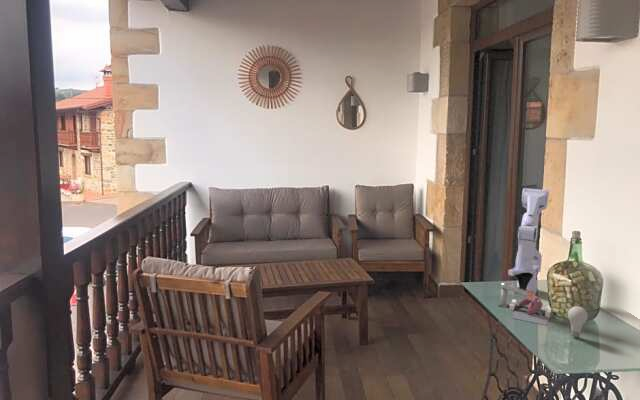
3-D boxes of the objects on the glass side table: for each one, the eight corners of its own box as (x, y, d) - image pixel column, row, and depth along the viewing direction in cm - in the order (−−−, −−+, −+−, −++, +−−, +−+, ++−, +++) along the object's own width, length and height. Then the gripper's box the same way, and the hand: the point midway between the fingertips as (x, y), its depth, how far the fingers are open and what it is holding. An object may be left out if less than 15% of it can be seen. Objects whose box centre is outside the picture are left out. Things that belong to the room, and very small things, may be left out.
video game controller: (536, 319, 196) (547, 303, 195) (526, 313, 195) (536, 298, 194) (527, 309, 205) (536, 294, 204) (517, 304, 205) (526, 289, 204)
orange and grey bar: (499, 288, 204) (499, 283, 204) (503, 286, 206) (503, 281, 205) (530, 298, 194) (530, 293, 194) (534, 296, 196) (534, 291, 195)
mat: (515, 311, 200) (515, 310, 200) (548, 317, 194) (549, 317, 194) (511, 318, 193) (511, 317, 193) (546, 325, 187) (546, 325, 187)
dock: (500, 301, 209) (502, 286, 208) (551, 311, 200) (552, 295, 199) (497, 307, 203) (498, 291, 202) (549, 317, 194) (551, 300, 193)
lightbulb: (583, 335, 180) (587, 305, 178) (586, 342, 174) (590, 311, 172) (564, 332, 182) (567, 302, 180) (566, 339, 176) (569, 308, 174)
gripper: (520, 262, 190) (516, 297, 193) (547, 257, 197) (544, 291, 199) (505, 257, 196) (502, 291, 199) (532, 252, 203) (529, 285, 205)
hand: (522, 291), depth 199 cm, fingers closed, pressing on orange and grey bar
